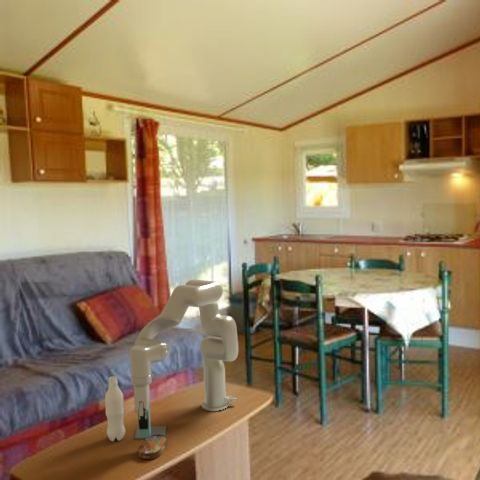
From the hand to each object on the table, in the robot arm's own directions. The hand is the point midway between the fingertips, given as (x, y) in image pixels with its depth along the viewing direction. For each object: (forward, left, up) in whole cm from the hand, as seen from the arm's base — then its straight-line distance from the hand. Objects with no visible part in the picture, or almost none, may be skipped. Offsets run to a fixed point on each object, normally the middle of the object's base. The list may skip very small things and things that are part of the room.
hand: (144, 425), depth 199 cm
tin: (+1, -1, -9) cm, 9 cm away
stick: (0, 0, -4) cm, 4 cm away
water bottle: (+13, -11, -10) cm, 20 cm away
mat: (-1, -14, -10) cm, 17 cm away
